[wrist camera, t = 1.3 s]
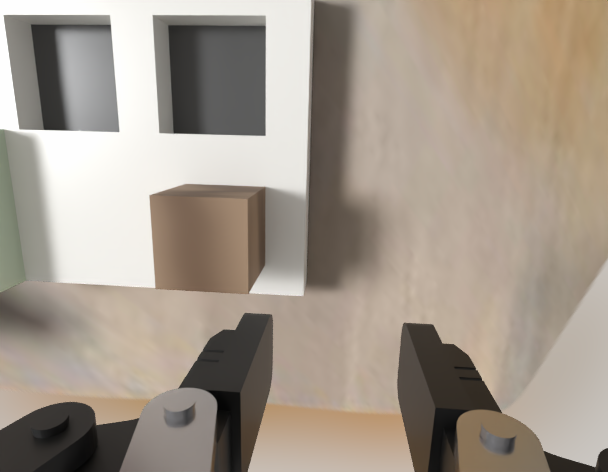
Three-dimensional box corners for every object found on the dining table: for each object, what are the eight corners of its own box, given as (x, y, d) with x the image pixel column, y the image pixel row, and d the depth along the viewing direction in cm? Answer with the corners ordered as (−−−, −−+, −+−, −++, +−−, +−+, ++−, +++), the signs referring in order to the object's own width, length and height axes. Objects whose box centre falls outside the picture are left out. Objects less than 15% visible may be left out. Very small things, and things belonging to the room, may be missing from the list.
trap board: (314, -1, 25) (308, -34, 20) (306, 282, 29) (299, 312, 24) (1, -1, 26) (-76, -32, 21) (38, 268, 30) (-19, 293, 26)
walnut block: (265, 186, 25) (247, 199, 20) (265, 264, 26) (248, 294, 21) (185, 183, 25) (149, 195, 20) (189, 260, 27) (155, 288, 22)
